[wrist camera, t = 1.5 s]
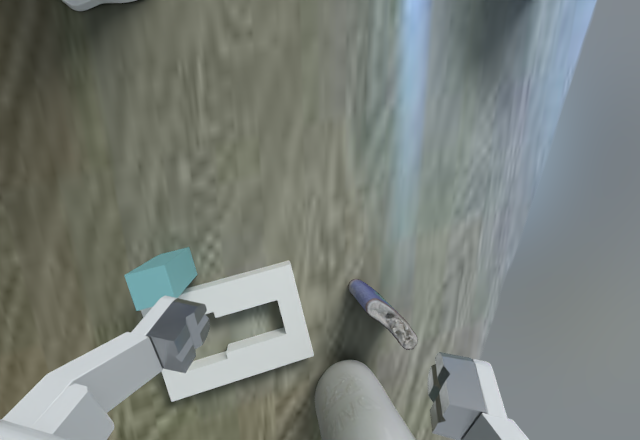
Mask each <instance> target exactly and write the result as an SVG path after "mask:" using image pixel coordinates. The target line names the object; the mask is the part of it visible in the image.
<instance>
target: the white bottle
mask: <svg viewBox="0 0 640 440" xmlns="http://www.w3.org/2000/svg"><path fill="white" fill-rule="evenodd" d="M315 407H316V413H317V418H318V423H319V428H320V433H321V438H322V440H416V439H415V437H414V436H413V434H412V432H411V431H410V429H409V428H408V426H407V425H406V423H405V422H404V420H403V419H402V417H401V416H400V414H399V413H398V411H397V410H396V408H395V407H394V405H393V403H392V402H391V400H390V398H389V396H388V395H387V393H386V391H385V390H384V388H383V387H382V385H381V384H380V382H379V381H378V379H377V378H376V376H375V375H374V374H373V372H372V371H371V370H370V369H369V368H368V367H367V366H366V365H365V364H364V363H362V362H360V361H357V360H344V361H340V362H337V363H335V364H333V365H332V366H330V367H329V368H328V369H327V370H326V371H325V372H324V374H323V375H322V376H321V378H320V380H319V382H318V384H317V387H316V392H315Z"/></svg>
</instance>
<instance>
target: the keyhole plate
mask: <svg viewBox="0 0 640 440" xmlns="http://www.w3.org/2000/svg"><path fill="white" fill-rule="evenodd" d="M178 298H179V299H184V300H188V301H193V302H197V303H202V304H205V305H206V309H207V311H206V313H205V314H208V313H211V312H214V315H215V318H217V317H221V316H224V315H228V314H231V313H234V312H238V311H241V310H245V309H248V308H252V307H255V306H259V305H262V304H265V303H269V302H272V301H276V300H277V301H278V305H279V308H280V312H281V316H282V319H283V323H284V327H283V328H279V329H276V330H273V331H270V332H266V333H263V334H260V335H256V336H253V337H250V338H247V339H243V340H240V341H237V342H234V343H230V344H228V347H227V351H224V352H221V353H218V354H214V355H211V356H208V357H205V358H202V359H198V360H195V361H193V362H192V363H191V365H190V367H189V368H188V370H187V372H186V373H182V372H177V371H172V370H167V369H163V368H162V369H163V370H162V371H161V372H162V375H163V378H164V381H165V384H166V387H167V390H168V393H169V396H170V399H171V402H173V401H176V400H179V399H182V398H185V397H188V396H192V395H195V394H198V393H201V392H204V391H207V390H210V389H213V388H216V387H219V386H222V385H226V384H229V383H232V382H235V381H238V380H241V379H244V378H247V377H250V376H253V375H256V374H259V373H263V372H266V371H269V370H272V369H275V368H278V367H281V366H284V365H287V364H290V363H293V362H297V361H300V360H303V359H306V358H309V357H312V356H314V353H313V349H312V345H311V342H310V338H309V334H308V330H307V326H306V322H305V318H304V314H303V310H302V306H301V303H300V299H299V295H298V291H297V287H296V283H295V279H294V275H293V271H292V267H291V264H290V260H289V261H285V262H281V263H278V264H274V265H270V266H267V267H263V268H259V269H256V270H252V271H248V272H245V273H241V274H237V275H234V276H230V277H226V278H223V279H219V280H215V281H212V282H208V283H205V284H201V285H197V286H194V287H190V288H186V289H185V290H184V291H183V292H182V293H181V295H180V296H179V297H178ZM151 308H152V307H150V308H146V309H143V310H141V312H142V315H143V318H144V317H145V315H146V314H147V313H148V312H149V311H150V310H151Z"/></svg>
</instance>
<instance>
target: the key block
mask: <svg viewBox="0 0 640 440" xmlns="http://www.w3.org/2000/svg"><path fill="white" fill-rule="evenodd" d="M196 275H197V272H196V268H195V265H194V262H193V258H192V255H191V252H190V249H189V247H187V248H183V249H180V250H176V251H172V252H168V253H164V254H160V255H158V256H156V257H154V258H153V259H151V260H149V261H148V262H146V263H144V264H143V265H141V266H139V267H137V268H136V269H134V270H132V271H131V272H129V273H127V274H126V275H125V278H126V281H127V284H128V287H129V290H130V293H131V296H132V299H133V302H134V305H135V308H136V311H139V310H143V309H146V308H150V307H153V306H154V305H155V304H156V303H157V301H158V300H159V299H160V298H162V297H163V296H170V297H175V298H178V297H179V296H180V295H181V293H182V292H183V291H184V290H185V289H186V287H187V286H188V285H189V284H190V283H191V281H192V280H193V279H194V278H195V277H196Z"/></svg>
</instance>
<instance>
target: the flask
mask: <svg viewBox="0 0 640 440" xmlns="http://www.w3.org/2000/svg"><path fill="white" fill-rule="evenodd" d="M348 288H349V291H350V292H351V293H352V294H353V296H354V297H355V298H356V299H357V300H358V302H359V303H360V304H361V306H362V307H363V308H364V310H365V311H366V312H367V314H368V315H369V316H370V317H372V318H374V319H375V320H377V321H379V322H380V323H381V324H383V325H384V326H385V327H386V328H387V329H388V330H389V331H390V332H391V333H392V335H393V336H394V337H395V338H396V339H397V340H398V342H399V343H400V345H401V346H402V347H403V348H404V349H406V350H411V349H414V347H415V346H416V345H417V342H418V339H417V336H416V334H415V333H414V331H413V330H412V328H411V327H410V325H409V324H408V323H407V321H406V320H405V319H404V318H403V317H402V316H401V315H400V314H399V313H398V312H397V311H396V310H395V309H394V308H393V307H392V306H391V305H389V304H388V303H387V302H386V300H384V298H383V297H382V296H381V295H380V294H379V293H377V292H376V291H375V290H374V289H373V288H371V287H370V286H368V284H366V283H364V282H363V281H361V280H359V279H354V280H352V281H351V282H350V283H349V285H348Z"/></svg>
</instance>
